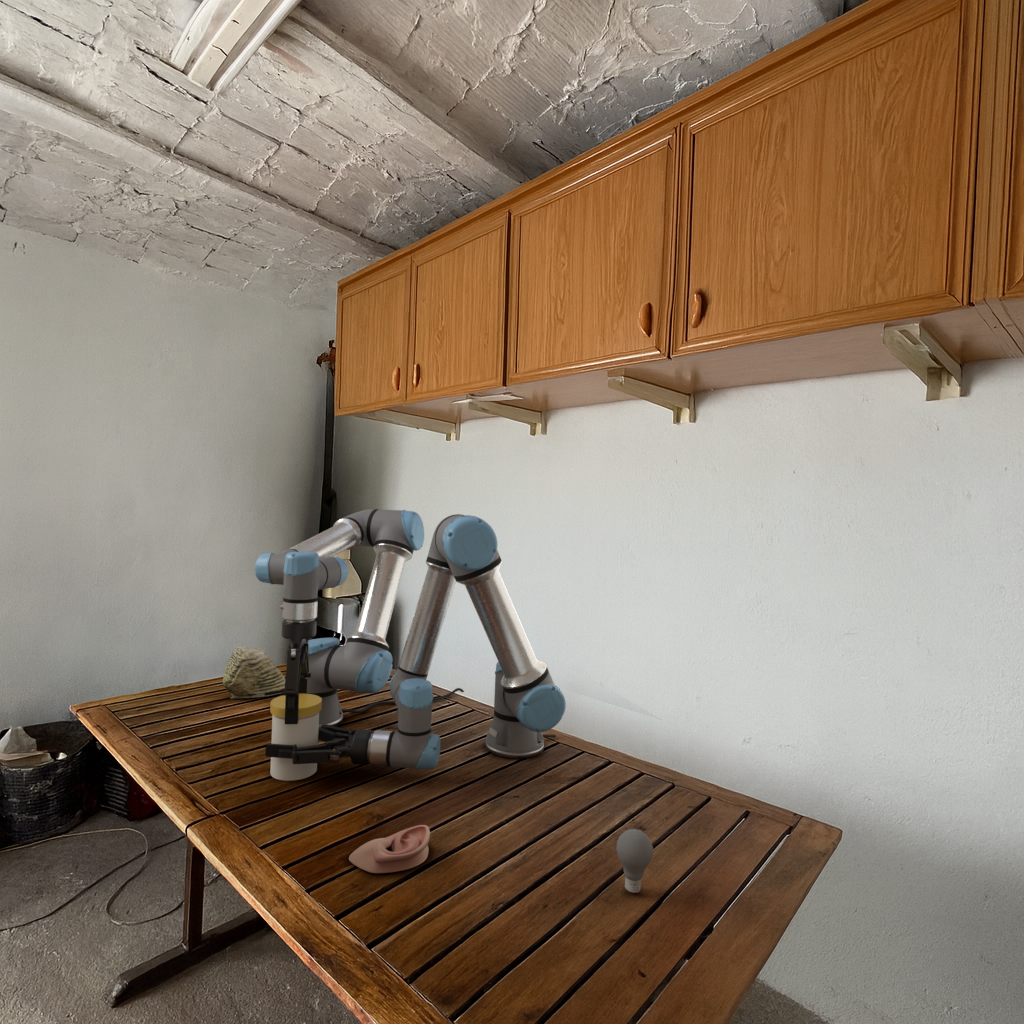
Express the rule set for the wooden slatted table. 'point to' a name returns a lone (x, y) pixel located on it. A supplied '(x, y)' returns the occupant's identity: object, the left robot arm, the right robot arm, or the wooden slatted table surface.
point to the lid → (307, 705)
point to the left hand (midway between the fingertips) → (296, 714)
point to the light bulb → (634, 857)
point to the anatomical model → (393, 851)
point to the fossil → (252, 674)
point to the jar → (291, 735)
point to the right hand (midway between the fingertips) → (277, 740)
